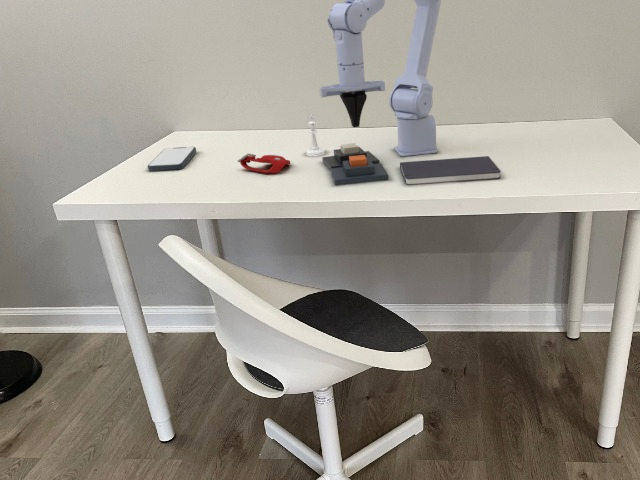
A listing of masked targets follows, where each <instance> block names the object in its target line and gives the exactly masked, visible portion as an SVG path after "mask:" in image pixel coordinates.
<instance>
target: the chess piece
mask: <svg viewBox="0 0 640 480" xmlns="http://www.w3.org/2000/svg"><path fill="white" fill-rule="evenodd" d="M307 119H308V120H310V121H308V123H307V124H308V126H309V128H310V130H309V131H308V133H309V134H311V146H310V148H309V149H307V150H306V151H305V155H306V156H309V157H318V156H323V155H324V154H326V151H325V149H324V148H321V147H320V146H319V144H318V140H317V135H316V134H317V133H318V130H316V126H317V122H316V121H315V120H316V116H313V113H311V114H310V115H309V116H307Z"/></svg>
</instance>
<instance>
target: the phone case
mask: <svg viewBox="0 0 640 480" xmlns="http://www.w3.org/2000/svg"><path fill="white" fill-rule="evenodd" d="M196 153H197V148H196V147H195V146H181V147H167V148H164V149H162V150H161V151H160V153H158V154H157V156H156V157H155V158H153V159H152V161H151V162H150V163H149V164H148V165H147V169H148V170H147V171H149V172H161V171H163V172H164V171H180V170H183V169H184V168H185V167H186V166H187V164H188V163H189V162H190V160H191V159H192V158H193V157H194V155H196Z"/></svg>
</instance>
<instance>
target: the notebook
mask: <svg viewBox="0 0 640 480" xmlns="http://www.w3.org/2000/svg"><path fill="white" fill-rule="evenodd" d="M399 169H400V172H401V175H402V177H403V180H404V184H405V185H406V186H416V185H429V184H430V185H431V184H442V183H443V184H444V183H459V182H460V183H461V182H473V181H485V180H487V181H488V180H499V179H501V175H500V173H501V169H500V168H499V166H497V164H496V163H495V162H494V161H493V159H492V158H491V157H490V156H489V155H485V156H470V157H457V158H456V157H455V158H443V159H428V160H427V159H426V160H413V161H400V162H399Z"/></svg>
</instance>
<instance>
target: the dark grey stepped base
mask: <svg viewBox="0 0 640 480" xmlns="http://www.w3.org/2000/svg"><path fill="white" fill-rule="evenodd" d="M358 147H359V153H352V154H343V153H342V152H341V148H338V149H333V155H329V156H322V157H321V159H322V163H323V165H324V166H325V167H326V168H327V169H328V170H329V172H331V168H340V167H343V162H342V161H349V156H358V155H365V157H366V159H371V161H372V163H373V164H380V159H379V158H378V157H377V156H375V155H374V154H373V153H372V152H370V151H369V150H367V151H364V150H363V148H362V147H360V146H358Z"/></svg>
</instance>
